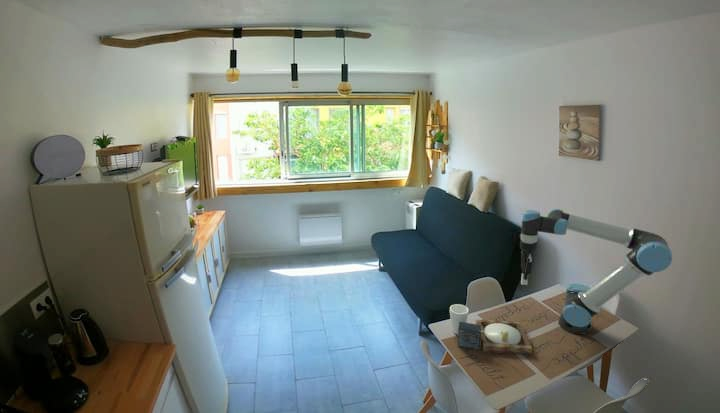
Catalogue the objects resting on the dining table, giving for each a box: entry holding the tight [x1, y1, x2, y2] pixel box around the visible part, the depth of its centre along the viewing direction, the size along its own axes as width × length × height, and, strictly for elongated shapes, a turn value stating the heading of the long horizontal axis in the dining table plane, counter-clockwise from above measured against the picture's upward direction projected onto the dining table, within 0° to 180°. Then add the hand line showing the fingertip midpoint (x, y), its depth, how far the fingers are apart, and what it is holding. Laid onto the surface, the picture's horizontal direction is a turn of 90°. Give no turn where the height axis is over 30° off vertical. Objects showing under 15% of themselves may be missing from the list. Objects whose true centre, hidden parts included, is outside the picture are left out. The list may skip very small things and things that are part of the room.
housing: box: [475, 319, 533, 356], centre depth 187 cm, size 22×22×4 cm
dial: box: [484, 323, 521, 345], centre depth 186 cm, size 17×17×6 cm
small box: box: [457, 322, 481, 351], centre depth 182 cm, size 11×6×10 cm, turn 71°
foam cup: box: [449, 303, 470, 335], centre depth 193 cm, size 10×9×13 cm
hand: (524, 284), depth 191 cm, fingers closed
